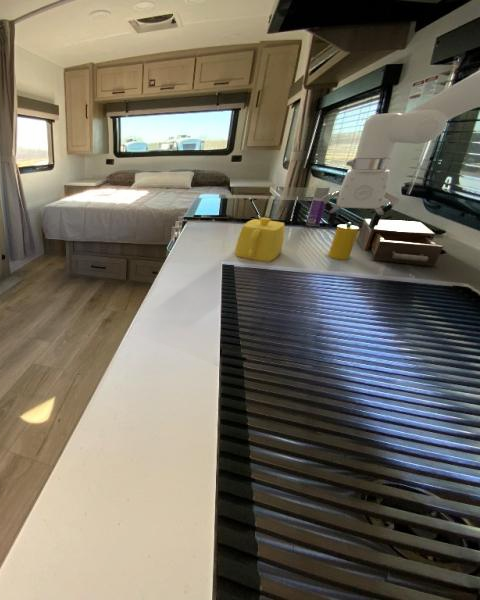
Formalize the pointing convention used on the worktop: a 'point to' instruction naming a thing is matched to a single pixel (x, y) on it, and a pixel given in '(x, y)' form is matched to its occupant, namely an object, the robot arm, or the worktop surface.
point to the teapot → (260, 240)
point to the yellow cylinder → (343, 241)
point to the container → (317, 206)
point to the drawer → (404, 248)
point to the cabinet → (391, 230)
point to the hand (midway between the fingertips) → (350, 226)
